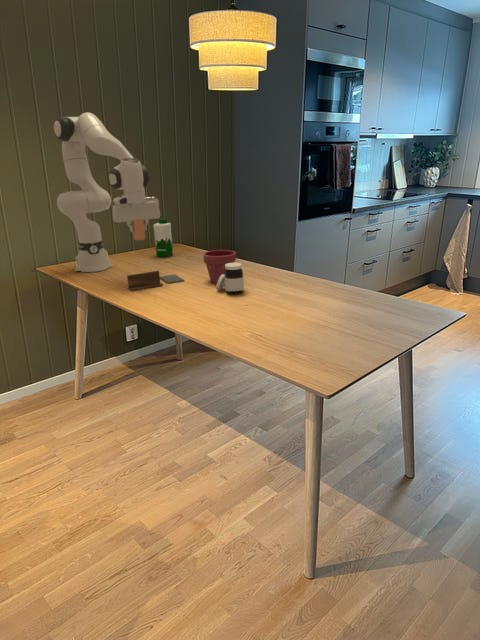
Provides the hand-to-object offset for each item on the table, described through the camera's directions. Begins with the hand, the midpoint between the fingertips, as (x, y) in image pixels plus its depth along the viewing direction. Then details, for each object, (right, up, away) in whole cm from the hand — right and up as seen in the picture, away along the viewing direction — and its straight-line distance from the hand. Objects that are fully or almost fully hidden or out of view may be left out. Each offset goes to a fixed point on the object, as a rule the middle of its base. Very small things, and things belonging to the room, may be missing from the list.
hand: (138, 230), depth 205 cm
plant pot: (+36, -21, +7) cm, 42 cm away
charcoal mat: (+13, -20, +11) cm, 26 cm away
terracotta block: (0, -3, +1) cm, 4 cm away
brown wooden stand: (+3, -25, +1) cm, 25 cm away
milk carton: (+2, -3, +58) cm, 58 cm away
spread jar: (+40, -27, -9) cm, 49 cm away
